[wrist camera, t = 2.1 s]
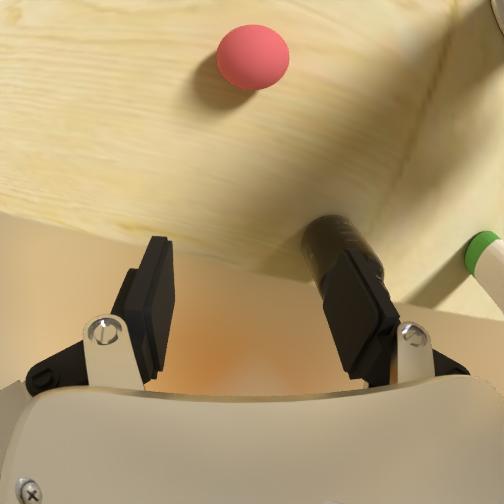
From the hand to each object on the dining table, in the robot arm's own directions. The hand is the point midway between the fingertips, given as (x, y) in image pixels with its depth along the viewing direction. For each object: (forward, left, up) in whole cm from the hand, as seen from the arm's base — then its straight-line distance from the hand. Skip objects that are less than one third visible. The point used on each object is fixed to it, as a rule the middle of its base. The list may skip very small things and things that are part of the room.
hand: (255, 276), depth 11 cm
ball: (-7, -7, -17) cm, 19 cm away
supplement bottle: (-2, +14, -20) cm, 25 cm away
